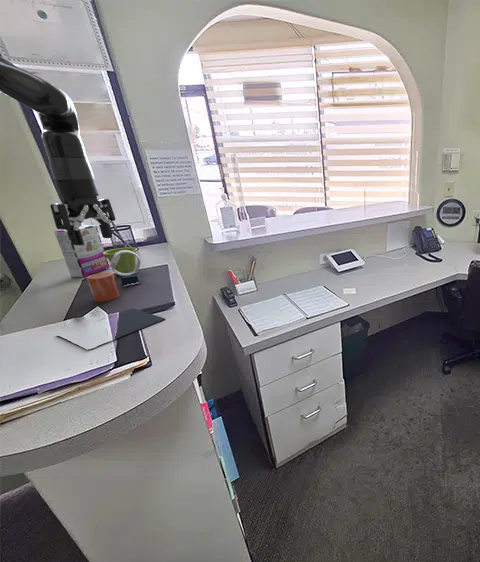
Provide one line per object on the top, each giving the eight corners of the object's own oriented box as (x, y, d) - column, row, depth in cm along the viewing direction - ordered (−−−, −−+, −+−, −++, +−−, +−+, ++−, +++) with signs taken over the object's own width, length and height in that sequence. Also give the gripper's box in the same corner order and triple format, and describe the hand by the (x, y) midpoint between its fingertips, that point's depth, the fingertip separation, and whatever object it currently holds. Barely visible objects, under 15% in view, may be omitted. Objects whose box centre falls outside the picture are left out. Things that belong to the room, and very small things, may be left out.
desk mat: (88, 351, 64) (87, 349, 64) (55, 335, 70) (55, 334, 70) (165, 319, 78) (165, 318, 78) (133, 309, 84) (133, 307, 83)
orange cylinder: (100, 303, 87) (93, 280, 84) (90, 299, 89) (82, 276, 87) (124, 296, 92) (117, 273, 89) (113, 292, 94) (106, 271, 92)
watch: (115, 283, 102) (105, 251, 98) (145, 278, 106) (137, 247, 102) (115, 288, 97) (104, 255, 94) (146, 283, 102) (137, 251, 98)
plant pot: (104, 276, 108) (96, 252, 105) (132, 268, 117) (126, 246, 114) (121, 279, 105) (114, 255, 102) (149, 271, 113) (143, 248, 110)
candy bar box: (97, 267, 117) (83, 224, 112) (110, 268, 117) (97, 224, 111) (69, 277, 107) (52, 230, 101) (83, 277, 107) (67, 230, 101)
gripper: (86, 176, 83) (103, 235, 89) (28, 177, 70) (53, 247, 75) (113, 176, 83) (128, 236, 89) (60, 178, 70) (82, 248, 75)
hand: (94, 241), depth 82 cm, fingers open, 8 cm apart
